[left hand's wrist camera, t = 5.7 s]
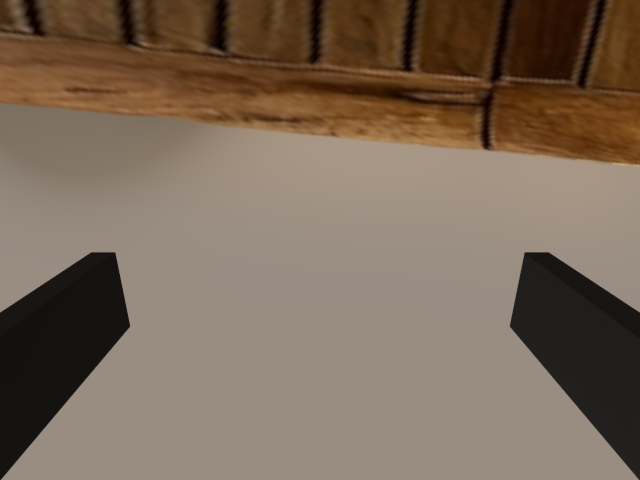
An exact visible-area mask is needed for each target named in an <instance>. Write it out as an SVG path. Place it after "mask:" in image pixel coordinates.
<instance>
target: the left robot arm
mask: <svg viewBox="0 0 640 480" xmlns="http://www.w3.org/2000/svg"><path fill="white" fill-rule="evenodd" d="M129 327H130V323H129V318H128V313H127V308H126V303H125V298H124V293H123V288H122V283H121V278H120V274H119V269H118V264H117V259H116V254H115V253H114V252H92V253H90V254H88V255H87V256H85V257H84V258H82V259H81V260H79V261H78V262H76V263H75V264H73V265H72V266H70V267H69V268H67V269H66V270H64V271H63V272H61V273H59V274H58V275H57V276H55V277H53V278H52V279H50V280H49V281H47V282H46V283H44V284H43V285H41V286H40V287H38V288H37V289H35V290H34V291H32V292H31V293H29V294H28V295H26V296H25V297H23V298H22V299H20V300H19V301H17V302H16V303H14V304H13V305H11V306H10V307H8V308H7V309H5V310H3V311H2V312H1V313H0V480H1V479H2V478H3V477H4V475H5V474H6V473H7V472H8V471H9V469H10V468H11V467H12V466H13V465H14V463H15V462H16V461H17V460H18V459H19V458H20V456H21V455H22V454H23V453H24V452H25V450H26V449H27V448H28V447H29V446H30V445H31V443H32V442H33V441H34V440H35V439H36V437H37V436H38V435H39V434H40V433H41V432H42V430H43V429H44V428H45V427H46V426H47V424H48V423H49V422H50V421H51V420H52V418H53V417H54V416H55V415H56V414H57V413H58V411H59V410H60V409H61V408H62V407H63V405H64V404H65V403H66V402H67V401H68V400H69V398H70V397H71V396H72V395H73V394H74V392H75V391H76V390H77V389H78V388H79V386H80V385H81V384H82V383H83V382H84V381H85V379H86V378H87V377H88V376H89V375H90V373H91V372H92V371H93V370H94V369H95V367H96V366H97V365H98V364H99V363H100V362H101V360H102V359H103V358H104V357H105V356H106V354H107V353H108V352H109V351H110V350H111V349H112V347H113V346H114V345H115V344H116V343H117V341H118V340H119V339H120V338H121V337H122V336H123V334H124V333H125V332H126V331H127V330H128V328H129ZM510 327H511V328H512V329H513V331H514V332H515V333H516V334H517V336H518V337H519V338H520V339H521V340H522V341H523V343H524V344H525V345H526V346H527V347H528V348H529V350H530V351H531V352H532V353H533V354H534V356H535V357H536V358H537V359H538V360H539V362H540V363H541V364H542V365H543V366H544V368H545V369H546V370H547V371H548V372H549V373H550V375H551V376H552V377H553V378H554V379H555V381H556V382H557V383H558V384H559V385H560V386H561V388H562V389H563V390H564V391H565V392H566V394H567V395H568V396H569V397H570V398H571V400H572V401H573V402H574V403H575V404H576V405H577V407H578V408H579V409H580V410H581V411H582V413H583V414H584V415H585V416H586V417H587V418H588V420H589V421H590V422H591V423H592V424H593V426H594V427H595V428H596V429H597V430H598V432H599V433H600V434H601V435H602V436H603V437H604V439H605V440H606V441H607V442H608V443H609V445H610V446H611V447H612V448H613V449H614V450H615V452H616V453H617V454H618V455H619V456H620V458H621V459H622V460H623V461H624V462H625V464H626V465H627V466H628V467H629V468H630V469H631V471H632V472H633V473H634V474H635V475H636V477H637V478H638V479H639V480H640V312H638V311H637V310H635V309H633V308H632V307H630V306H629V305H627V304H626V303H624V302H623V301H621V300H620V299H618V298H617V297H615V296H614V295H612V294H611V293H609V292H608V291H606V290H605V289H603V288H602V287H600V286H599V285H597V284H596V283H594V282H593V281H591V280H590V279H588V278H587V277H585V276H583V275H582V274H581V273H579V272H577V271H576V270H574V269H573V268H571V267H570V266H568V265H567V264H565V263H564V262H562V261H561V260H559V259H558V258H556V257H555V256H553V255H552V254H550V253H548V252H525V254H524V259H523V264H522V269H521V274H520V278H519V283H518V288H517V293H516V298H515V303H514V308H513V313H512V318H511V323H510Z"/></svg>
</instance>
